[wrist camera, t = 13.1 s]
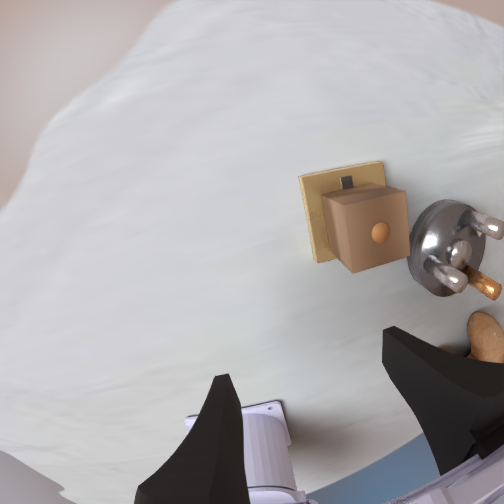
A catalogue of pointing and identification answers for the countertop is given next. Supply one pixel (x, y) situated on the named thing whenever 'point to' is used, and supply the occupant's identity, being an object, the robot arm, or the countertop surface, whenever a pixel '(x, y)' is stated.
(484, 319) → the figurine
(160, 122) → the countertop surface
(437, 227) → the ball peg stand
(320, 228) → the pad
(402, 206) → the block
